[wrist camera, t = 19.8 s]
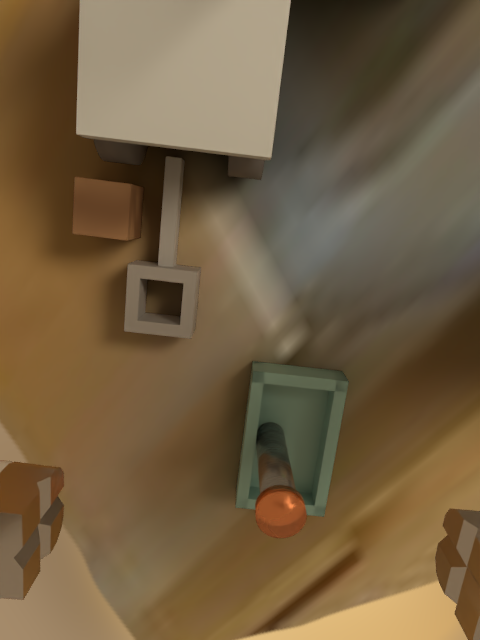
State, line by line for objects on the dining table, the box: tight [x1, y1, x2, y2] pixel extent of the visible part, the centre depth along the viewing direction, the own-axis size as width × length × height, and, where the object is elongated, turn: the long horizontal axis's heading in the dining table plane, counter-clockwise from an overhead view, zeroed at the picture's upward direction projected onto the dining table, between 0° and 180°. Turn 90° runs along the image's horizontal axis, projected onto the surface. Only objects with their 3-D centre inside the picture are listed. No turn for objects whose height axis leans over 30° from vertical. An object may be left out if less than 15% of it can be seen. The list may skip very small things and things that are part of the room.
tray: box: [236, 361, 349, 517], centre depth 40 cm, size 8×13×2 cm, turn 173°
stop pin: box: [255, 422, 307, 538], centre depth 35 cm, size 3×3×11 cm
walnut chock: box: [72, 177, 144, 240], centre depth 34 cm, size 4×4×4 cm
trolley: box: [76, 0, 291, 339], centre depth 25 cm, size 12×27×21 cm, turn 173°
